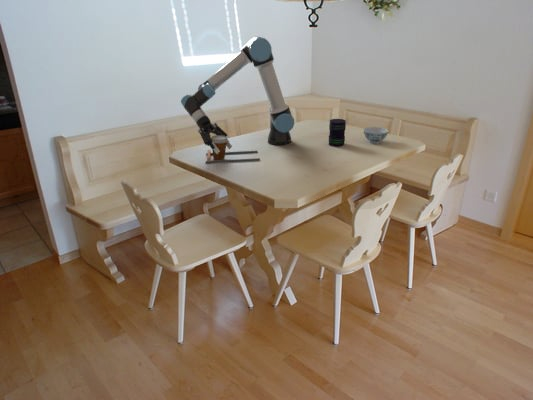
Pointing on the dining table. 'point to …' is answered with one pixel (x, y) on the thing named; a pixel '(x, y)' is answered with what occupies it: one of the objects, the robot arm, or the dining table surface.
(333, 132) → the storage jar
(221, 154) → the disposable coffee cup
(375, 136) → the chinaware
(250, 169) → the dining table surface
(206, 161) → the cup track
